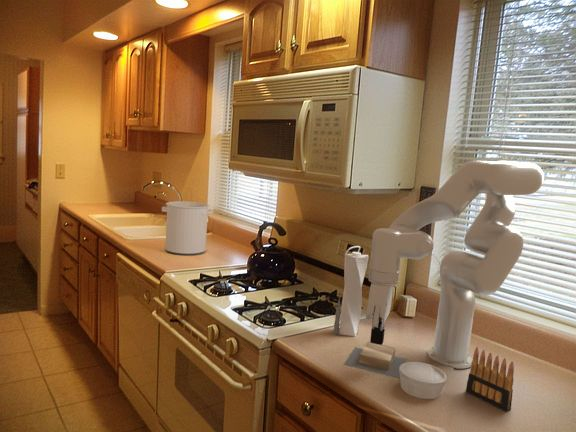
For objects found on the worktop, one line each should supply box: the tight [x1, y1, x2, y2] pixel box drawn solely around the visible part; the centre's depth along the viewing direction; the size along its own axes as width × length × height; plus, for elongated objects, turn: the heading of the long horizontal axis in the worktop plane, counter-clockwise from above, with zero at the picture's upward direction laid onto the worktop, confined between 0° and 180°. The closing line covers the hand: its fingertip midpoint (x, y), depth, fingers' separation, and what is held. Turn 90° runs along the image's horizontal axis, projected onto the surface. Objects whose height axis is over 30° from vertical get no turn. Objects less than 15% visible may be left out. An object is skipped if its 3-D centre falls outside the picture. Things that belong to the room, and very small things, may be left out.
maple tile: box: [359, 341, 397, 370], centre depth 132 cm, size 2×8×10 cm
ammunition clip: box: [465, 346, 515, 413], centre depth 114 cm, size 11×2×12 cm, turn 39°
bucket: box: [161, 200, 214, 256], centre depth 243 cm, size 26×22×24 cm
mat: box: [343, 346, 408, 379], centre depth 131 cm, size 13×15×1 cm
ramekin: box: [399, 361, 448, 400], centre depth 117 cm, size 11×11×5 cm
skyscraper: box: [333, 245, 370, 338], centre depth 148 cm, size 8×8×28 cm
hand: (376, 342), depth 126 cm, fingers closed
